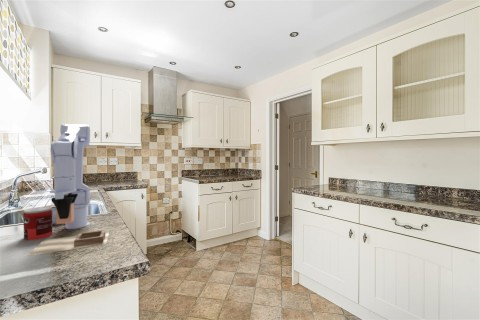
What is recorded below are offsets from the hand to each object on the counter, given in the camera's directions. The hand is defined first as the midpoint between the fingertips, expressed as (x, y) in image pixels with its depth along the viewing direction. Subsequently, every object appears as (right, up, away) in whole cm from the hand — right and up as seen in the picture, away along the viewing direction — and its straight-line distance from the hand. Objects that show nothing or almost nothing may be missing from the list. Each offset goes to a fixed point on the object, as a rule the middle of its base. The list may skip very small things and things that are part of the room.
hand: (65, 216), depth 77 cm
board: (+3, -10, 0) cm, 10 cm away
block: (0, -2, 0) cm, 2 cm away
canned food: (-15, -10, +6) cm, 19 cm away
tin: (-23, -10, +24) cm, 35 cm away
